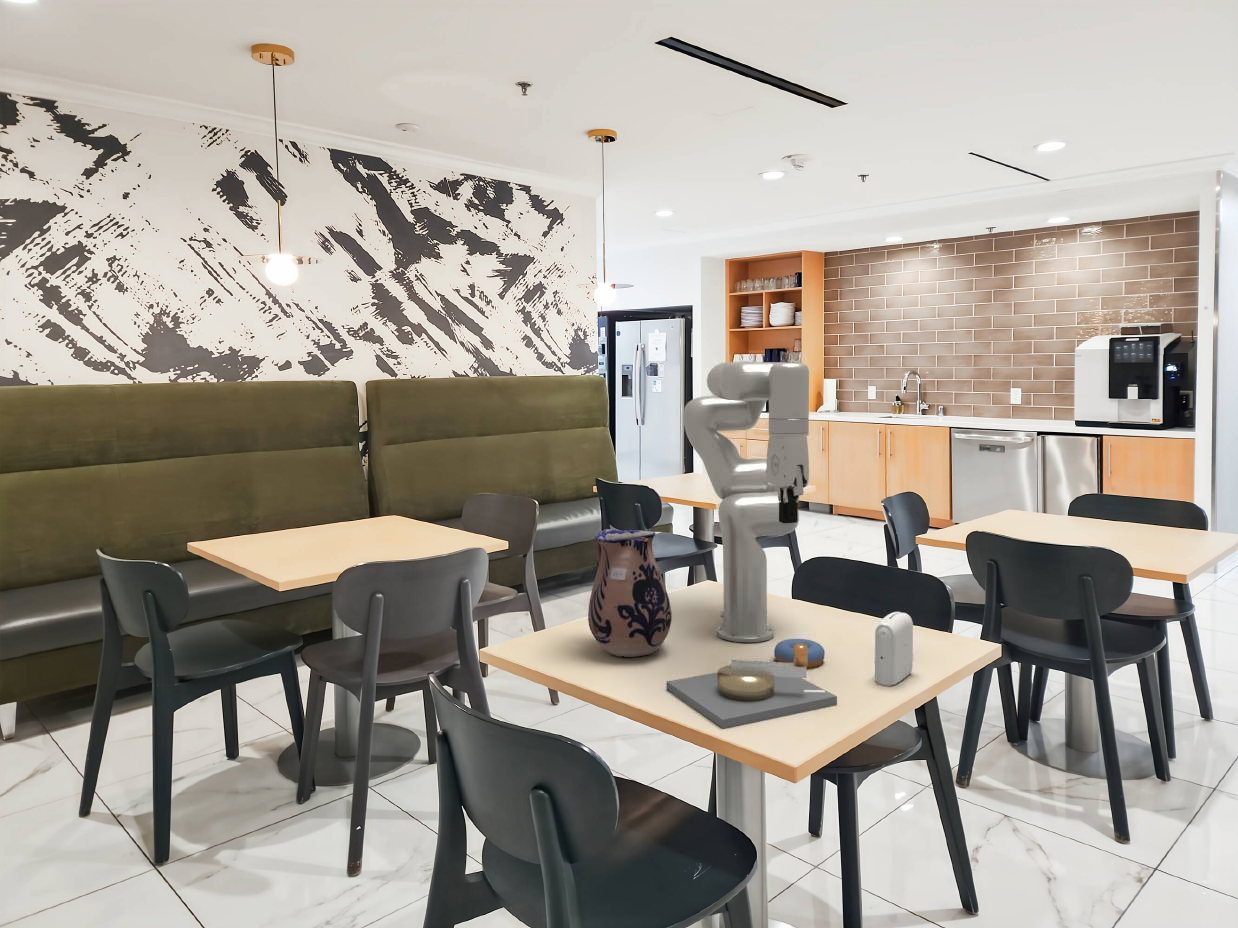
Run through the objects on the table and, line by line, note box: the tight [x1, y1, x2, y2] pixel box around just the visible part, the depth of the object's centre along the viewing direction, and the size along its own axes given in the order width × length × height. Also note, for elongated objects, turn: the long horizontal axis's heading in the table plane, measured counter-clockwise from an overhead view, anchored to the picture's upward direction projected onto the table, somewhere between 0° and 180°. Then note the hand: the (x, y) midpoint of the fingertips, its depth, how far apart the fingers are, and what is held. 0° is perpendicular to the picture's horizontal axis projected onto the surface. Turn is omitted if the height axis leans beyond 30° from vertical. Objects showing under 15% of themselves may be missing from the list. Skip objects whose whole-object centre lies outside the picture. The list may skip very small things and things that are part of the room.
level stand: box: [666, 672, 838, 729], centre depth 154 cm, size 20×23×2 cm
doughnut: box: [773, 638, 826, 669], centre depth 172 cm, size 10×10×5 cm
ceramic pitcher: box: [587, 528, 673, 658], centre depth 181 cm, size 18×21×25 cm
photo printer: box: [874, 611, 914, 687], centre depth 161 cm, size 10×4×12 cm, turn 140°
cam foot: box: [716, 643, 808, 700], centre depth 151 cm, size 16×10×8 cm, turn 78°
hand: (788, 522), depth 166 cm, fingers closed
